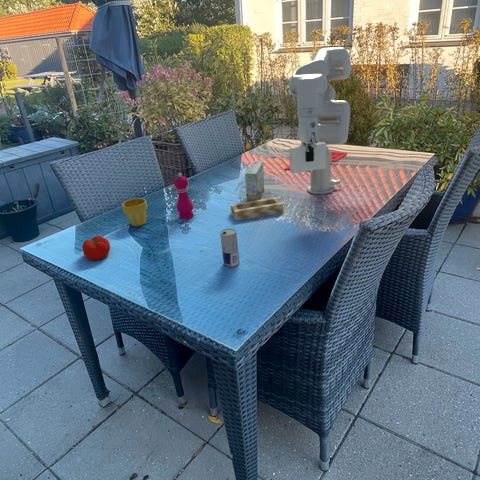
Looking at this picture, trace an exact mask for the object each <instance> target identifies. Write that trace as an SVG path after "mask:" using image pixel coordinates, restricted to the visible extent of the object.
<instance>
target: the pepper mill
mask: <svg viewBox="0 0 480 480" xmlns="http://www.w3.org/2000/svg"><path fill="white" fill-rule="evenodd" d="M173 185H174V186H175V190H176V193H177V194H178V198H177V203H176V210H177V212H178V217H179V219H181V220H190V219H192V218H193V217H194V211H193V210H194V204H193V202H192V200H191V199H190V197H189V194H188V191H189V187H188V185H189V181H188V178H187V177H186V176H183V174H182V173H181V172H179V173H177V177H175V178H174V180H173Z"/></svg>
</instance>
